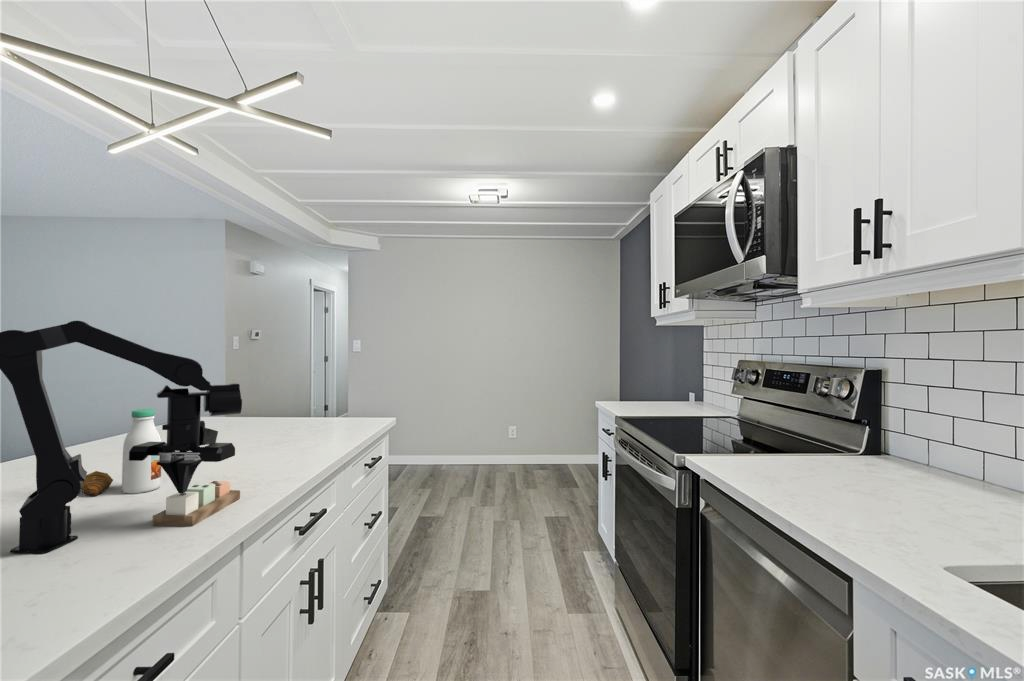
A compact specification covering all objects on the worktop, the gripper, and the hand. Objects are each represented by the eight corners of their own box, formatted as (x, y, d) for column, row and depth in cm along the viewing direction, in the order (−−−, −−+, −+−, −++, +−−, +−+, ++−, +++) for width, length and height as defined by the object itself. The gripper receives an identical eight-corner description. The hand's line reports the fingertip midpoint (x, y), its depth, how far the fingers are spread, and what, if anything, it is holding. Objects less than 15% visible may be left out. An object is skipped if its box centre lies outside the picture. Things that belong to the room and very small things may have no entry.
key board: (192, 526, 96) (192, 516, 96) (152, 525, 96) (153, 515, 96) (240, 498, 113) (240, 490, 113) (206, 498, 113) (206, 489, 113)
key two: (203, 507, 103) (203, 488, 103) (184, 507, 103) (185, 488, 103) (214, 501, 107) (215, 483, 107) (196, 501, 107) (197, 482, 107)
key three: (219, 504, 108) (219, 485, 108) (201, 503, 108) (202, 485, 108) (229, 498, 112) (229, 480, 112) (212, 498, 112) (213, 480, 112)
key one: (185, 517, 97) (185, 497, 97) (165, 517, 97) (166, 496, 97) (198, 510, 101) (198, 490, 101) (179, 510, 101) (179, 490, 101)
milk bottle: (139, 495, 114) (141, 412, 115) (113, 493, 116) (115, 411, 116) (168, 486, 122) (170, 408, 122) (143, 483, 124) (145, 407, 124)
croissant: (80, 486, 122) (80, 467, 122) (114, 482, 126) (115, 463, 126) (73, 501, 111) (73, 479, 111) (111, 495, 115) (111, 475, 115)
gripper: (249, 413, 107) (248, 482, 107) (167, 411, 107) (165, 481, 107) (219, 421, 96) (218, 498, 96) (127, 419, 96) (125, 496, 96)
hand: (182, 492), depth 99 cm, fingers closed
